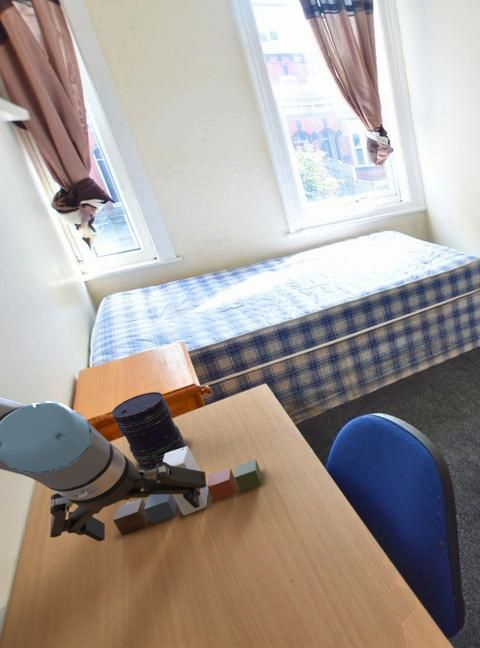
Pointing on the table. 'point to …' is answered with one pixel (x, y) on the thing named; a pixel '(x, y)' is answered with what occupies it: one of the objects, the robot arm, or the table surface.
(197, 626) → the table surface
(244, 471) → the block
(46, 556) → the table surface
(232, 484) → the block
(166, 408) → the storage jar
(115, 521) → the block
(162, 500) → the block
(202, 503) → the cosmetic box
